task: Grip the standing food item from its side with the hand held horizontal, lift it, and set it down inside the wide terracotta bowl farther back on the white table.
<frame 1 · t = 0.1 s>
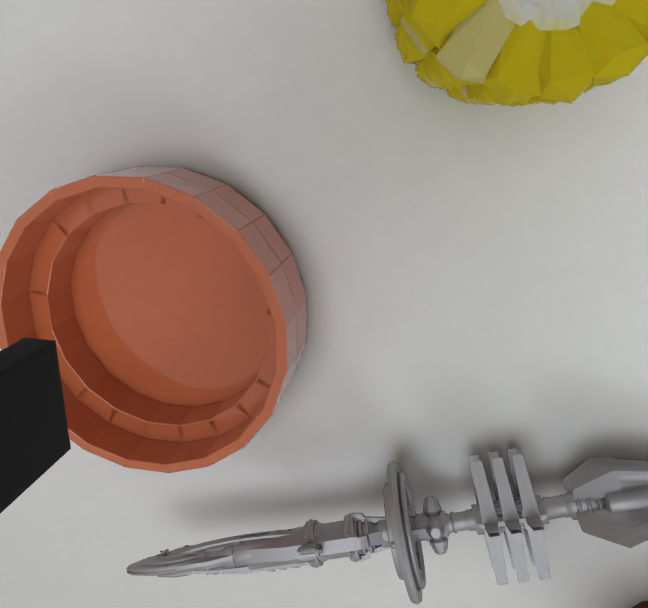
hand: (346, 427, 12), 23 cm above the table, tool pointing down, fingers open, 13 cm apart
food: (498, 2, 29), on the table
spaceship: (406, 487, 39), on the table
terracotta bowl: (176, 304, 38), on the table
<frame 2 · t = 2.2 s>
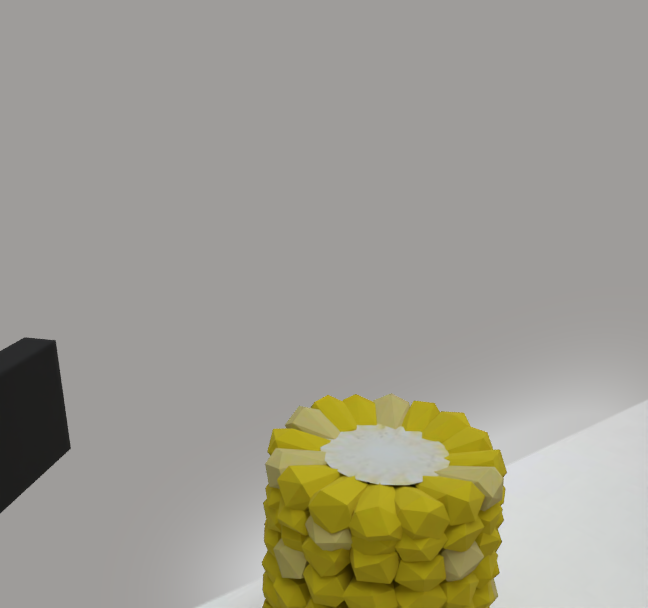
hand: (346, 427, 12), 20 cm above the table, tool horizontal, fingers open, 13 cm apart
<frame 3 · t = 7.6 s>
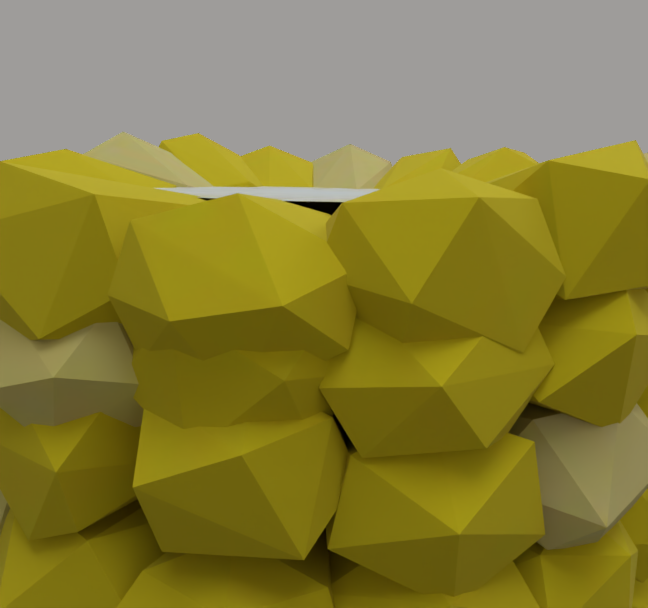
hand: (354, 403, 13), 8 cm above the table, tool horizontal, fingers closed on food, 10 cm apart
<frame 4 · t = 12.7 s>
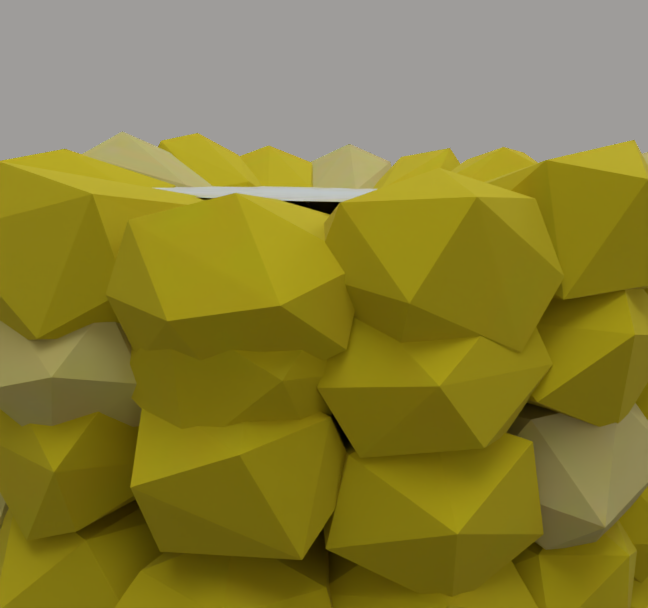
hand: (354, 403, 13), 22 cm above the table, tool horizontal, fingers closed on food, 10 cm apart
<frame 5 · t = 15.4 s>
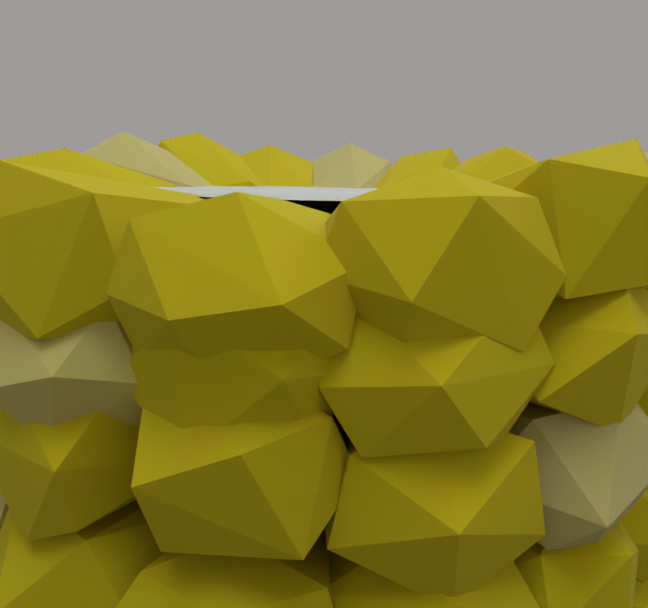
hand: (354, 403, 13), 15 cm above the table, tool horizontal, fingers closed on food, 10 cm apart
when the fingers open (9 cm above the table, at t = 17.8 s): food stays where it is, resting on terracotta bowl.
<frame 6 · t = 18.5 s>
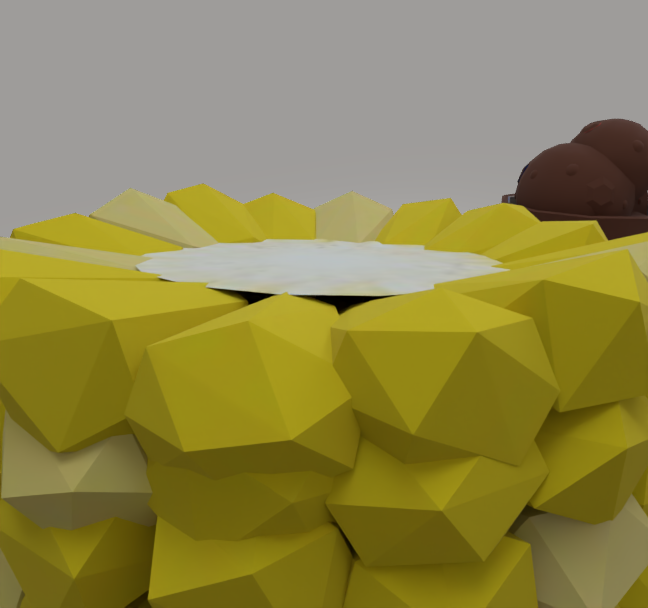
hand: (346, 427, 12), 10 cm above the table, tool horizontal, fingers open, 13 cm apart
ice cream bowl: (562, 335, 44), on the table
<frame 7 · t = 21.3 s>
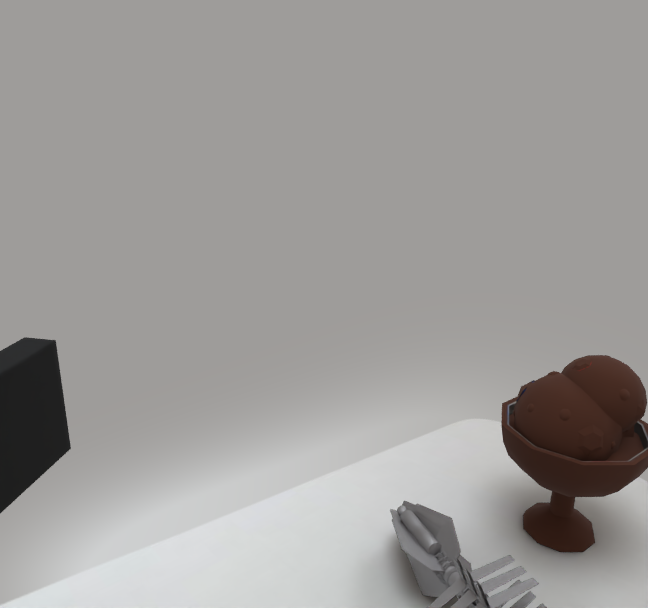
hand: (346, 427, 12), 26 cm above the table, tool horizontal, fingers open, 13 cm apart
ice cream bowl: (557, 530, 48), on the table
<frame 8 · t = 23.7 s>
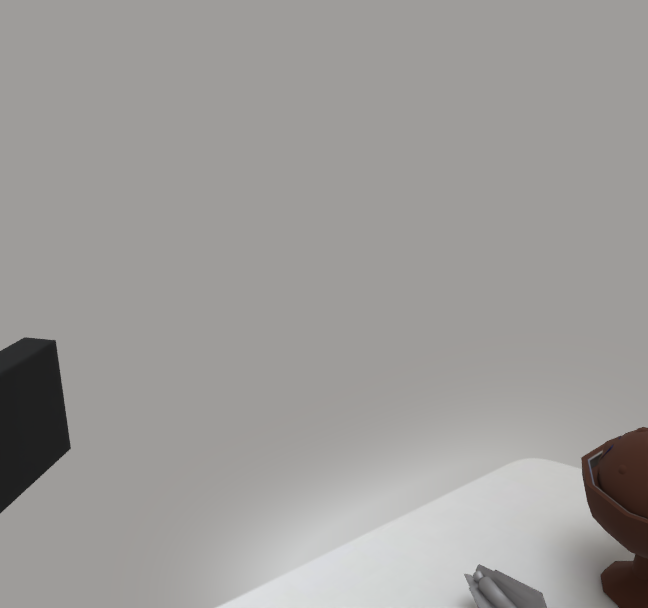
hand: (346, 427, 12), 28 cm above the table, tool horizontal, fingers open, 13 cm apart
ice cream bowl: (640, 593, 45), on the table
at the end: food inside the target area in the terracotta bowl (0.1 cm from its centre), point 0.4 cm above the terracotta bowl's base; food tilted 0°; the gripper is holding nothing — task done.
